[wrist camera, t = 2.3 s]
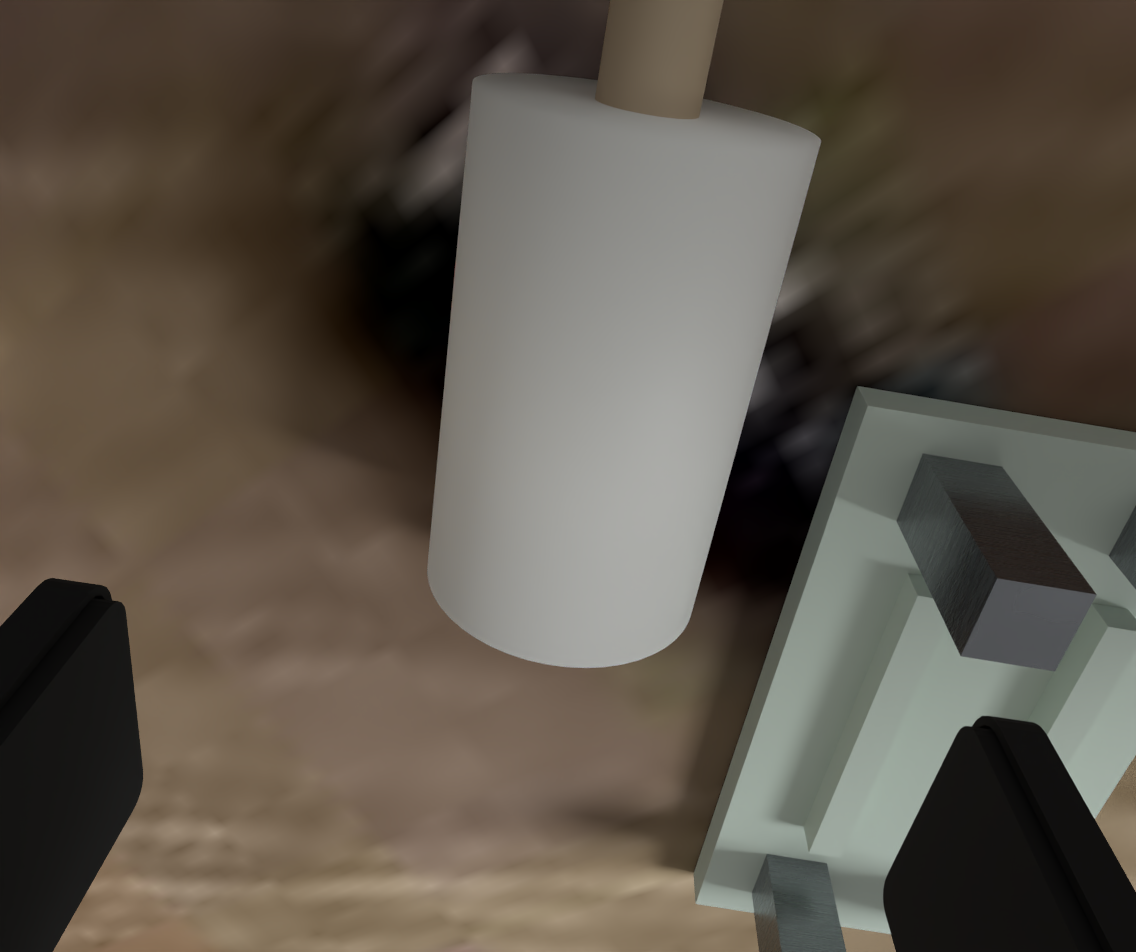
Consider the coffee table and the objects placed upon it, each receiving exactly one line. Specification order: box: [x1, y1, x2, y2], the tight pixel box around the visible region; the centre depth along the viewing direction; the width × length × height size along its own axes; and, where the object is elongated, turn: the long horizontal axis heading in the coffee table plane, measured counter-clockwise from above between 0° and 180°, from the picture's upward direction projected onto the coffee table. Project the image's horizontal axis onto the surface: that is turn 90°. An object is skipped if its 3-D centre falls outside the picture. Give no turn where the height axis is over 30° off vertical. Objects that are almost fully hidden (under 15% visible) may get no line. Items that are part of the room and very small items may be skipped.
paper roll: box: [427, 0, 821, 668], centre depth 20 cm, size 7×15×7 cm, turn 171°
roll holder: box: [694, 386, 1136, 952], centre depth 25 cm, size 11×19×6 cm, turn 171°
